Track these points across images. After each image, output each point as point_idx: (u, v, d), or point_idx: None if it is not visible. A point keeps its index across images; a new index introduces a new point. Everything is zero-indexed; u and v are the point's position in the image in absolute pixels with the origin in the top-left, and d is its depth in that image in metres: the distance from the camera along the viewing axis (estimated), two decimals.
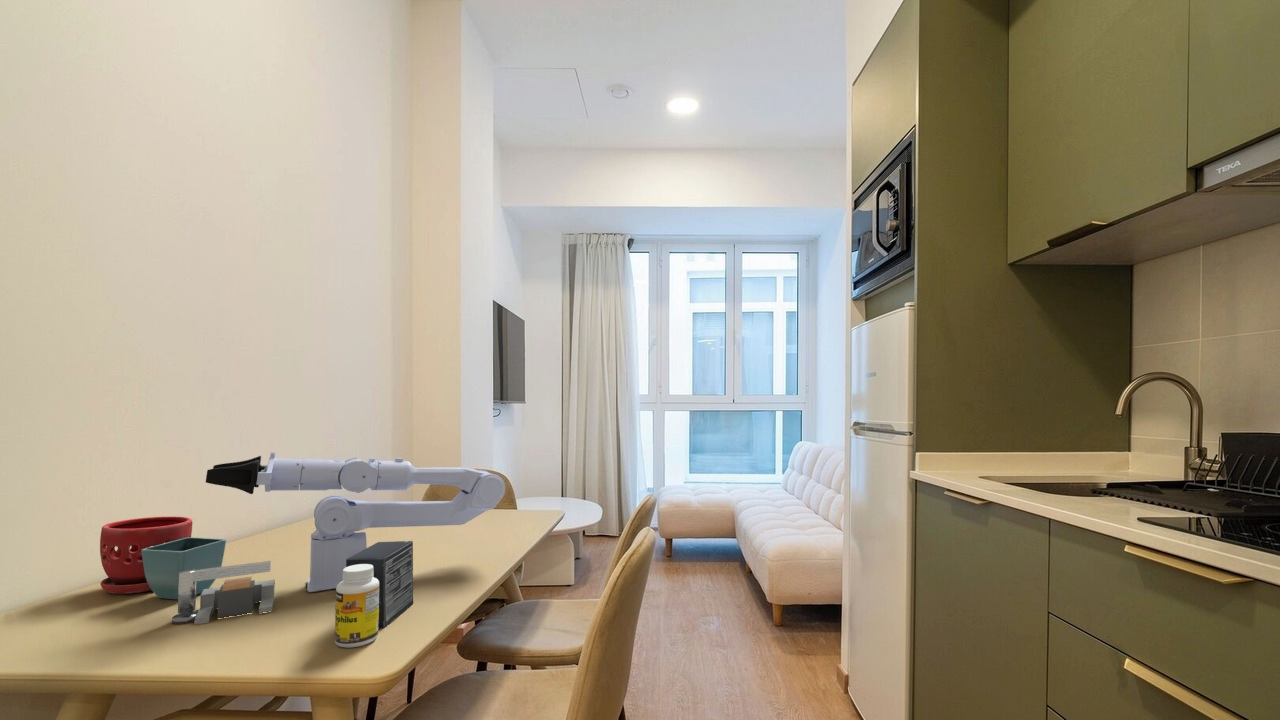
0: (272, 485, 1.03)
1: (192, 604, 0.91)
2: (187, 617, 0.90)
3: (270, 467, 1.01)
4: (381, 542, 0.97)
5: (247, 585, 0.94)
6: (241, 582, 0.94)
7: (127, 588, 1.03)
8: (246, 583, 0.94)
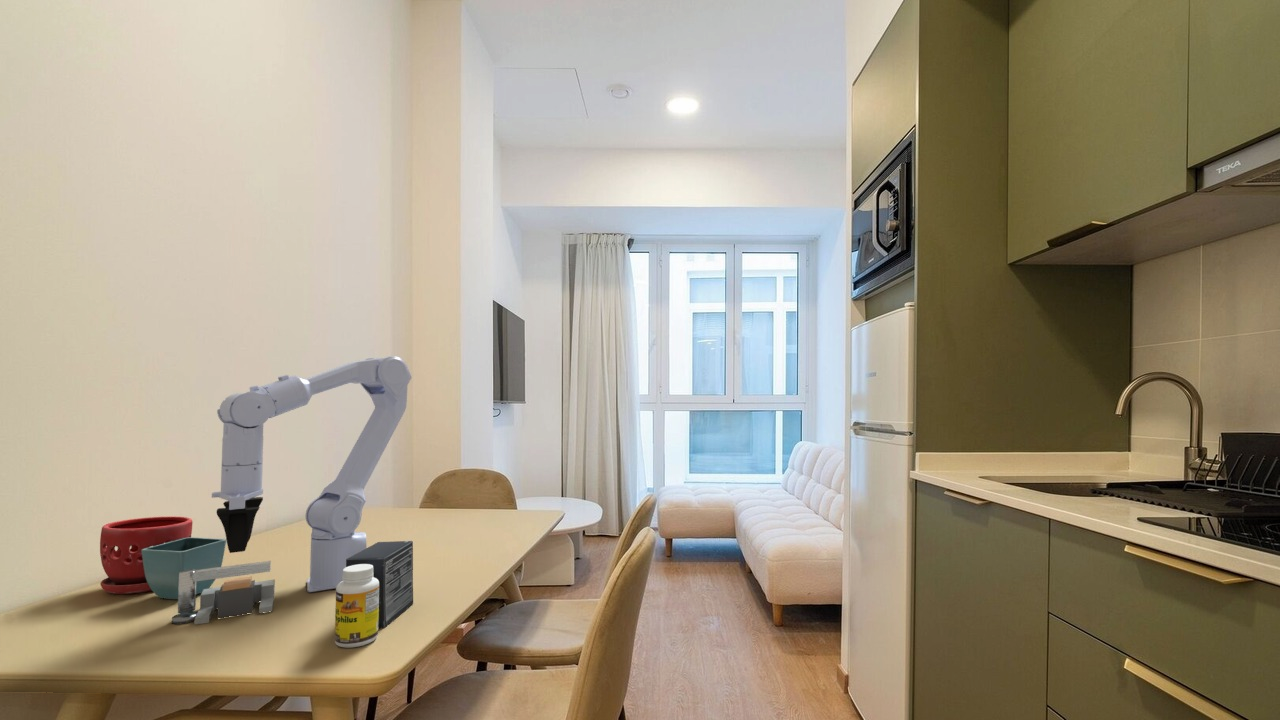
0: (252, 489, 0.97)
1: (192, 604, 0.91)
2: (187, 617, 0.90)
3: (226, 496, 0.93)
4: (381, 542, 0.97)
5: (247, 585, 0.94)
6: (241, 582, 0.94)
7: (127, 588, 1.03)
8: (246, 583, 0.94)
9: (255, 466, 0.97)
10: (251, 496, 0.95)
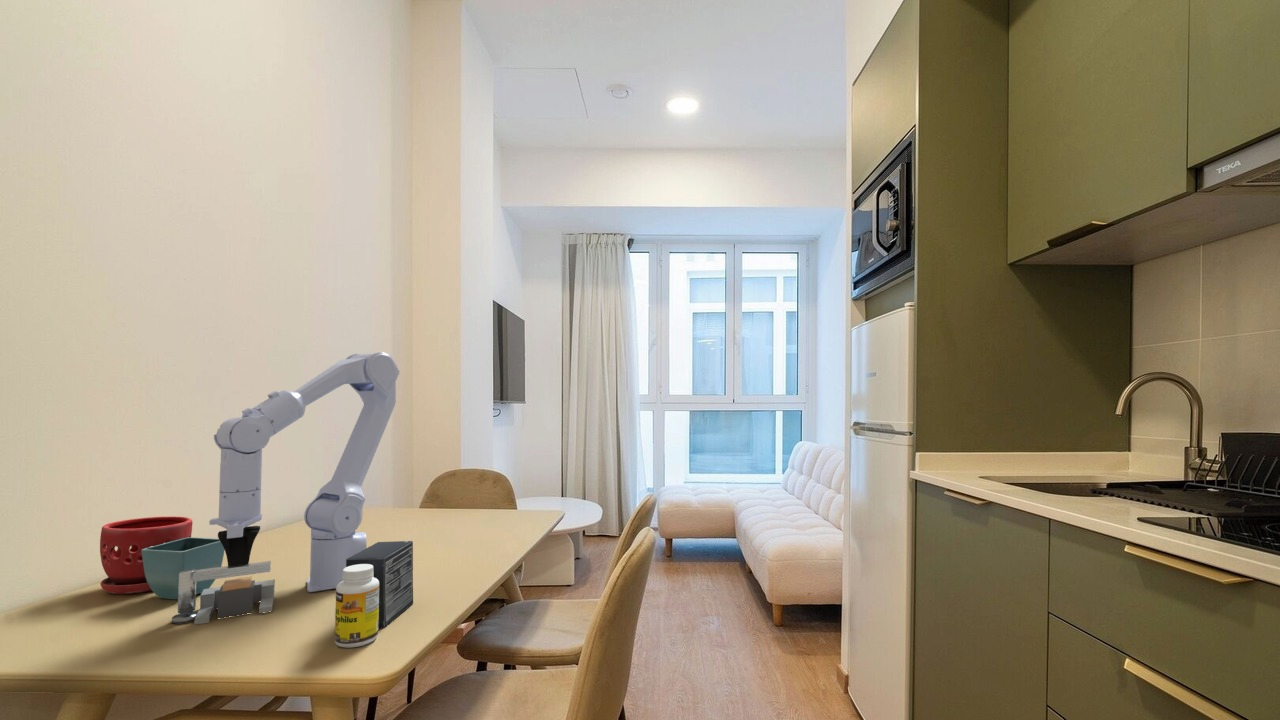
0: (251, 516, 0.95)
1: (192, 604, 0.91)
2: (187, 617, 0.90)
3: (223, 524, 0.92)
4: (381, 542, 0.97)
5: (247, 585, 0.94)
6: (241, 582, 0.94)
7: (127, 588, 1.03)
8: (246, 583, 0.94)
9: (253, 492, 0.96)
10: (249, 523, 0.93)
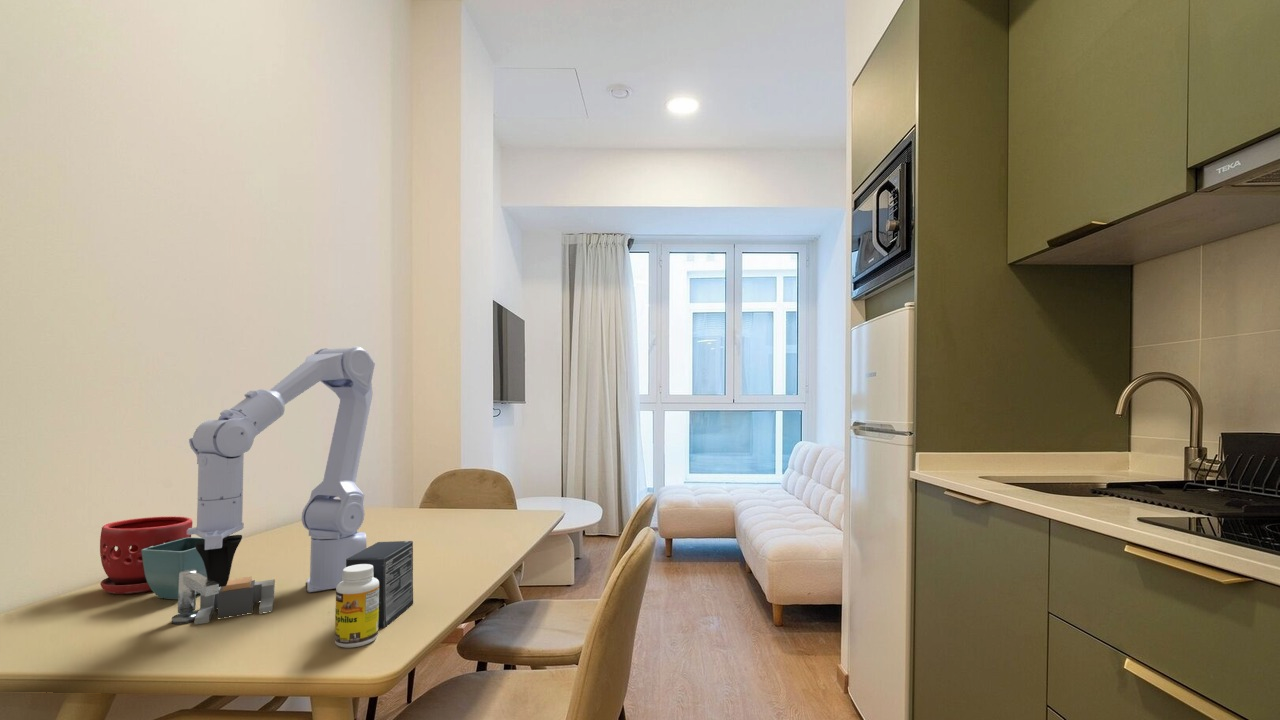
0: (231, 525, 0.89)
1: (182, 606, 0.90)
2: (187, 617, 0.90)
3: (202, 534, 0.86)
4: (381, 542, 0.97)
5: (247, 585, 0.94)
6: (241, 582, 0.94)
7: (127, 588, 1.03)
8: (246, 583, 0.94)
9: (234, 499, 0.90)
10: (229, 533, 0.87)
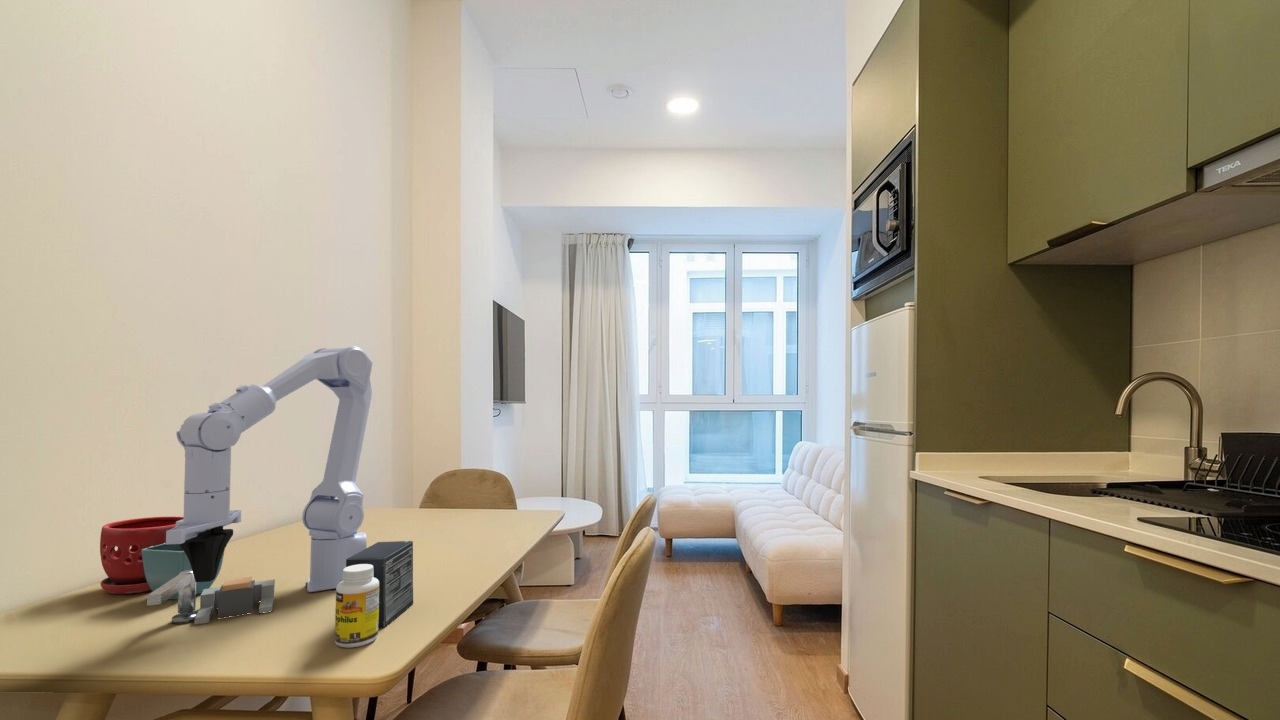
0: (209, 520, 0.88)
1: (179, 606, 0.90)
2: (187, 617, 0.90)
3: None
4: (381, 542, 0.97)
5: (247, 585, 0.94)
6: (241, 582, 0.94)
7: (127, 588, 1.03)
8: (246, 583, 0.94)
9: (212, 494, 0.88)
10: (200, 528, 0.86)
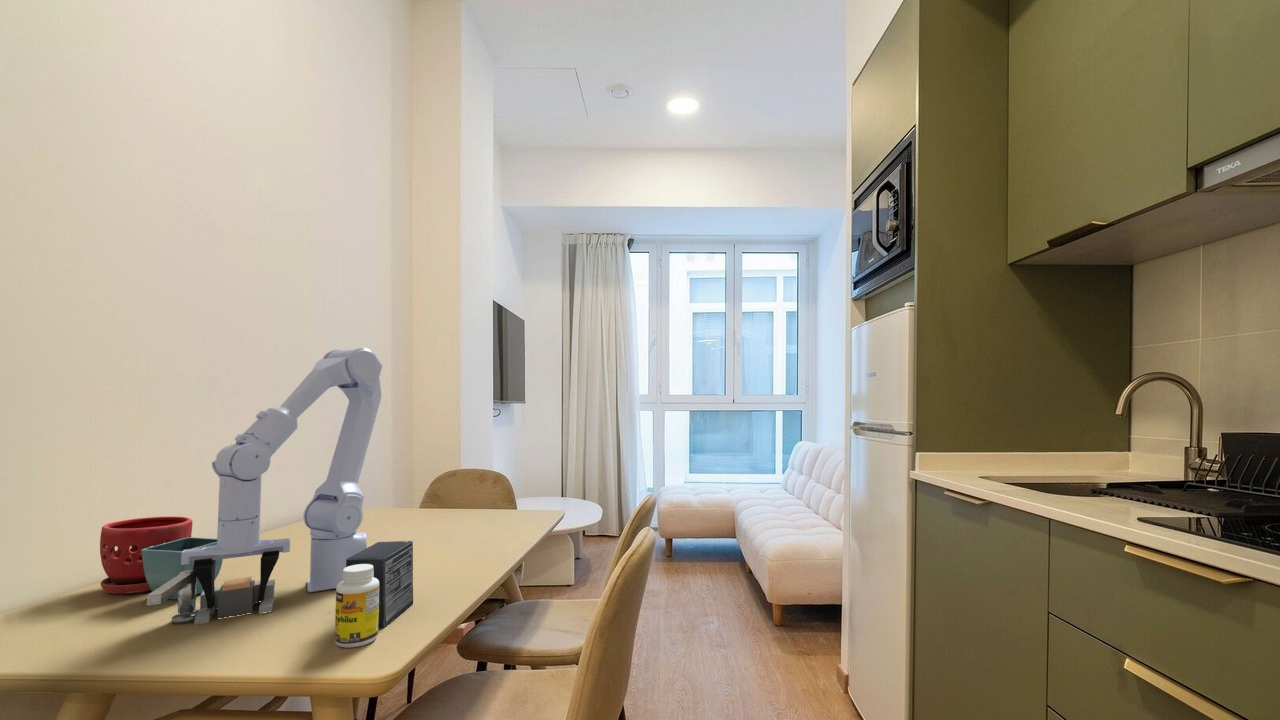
0: (220, 547, 0.93)
1: (179, 606, 0.90)
2: (187, 617, 0.90)
3: (207, 547, 0.95)
4: (381, 542, 0.97)
5: (247, 585, 0.94)
6: (241, 582, 0.94)
7: (127, 588, 1.03)
8: (246, 583, 0.94)
9: (222, 523, 0.93)
10: (204, 554, 0.92)
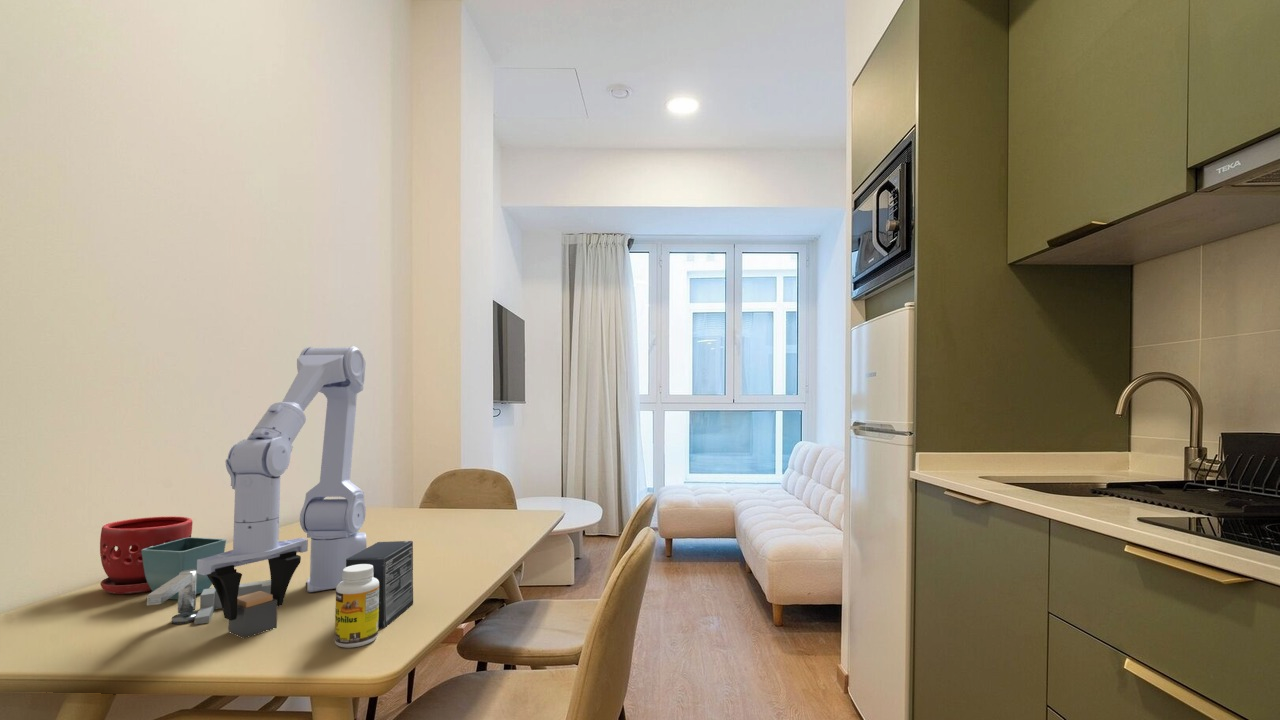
0: (245, 551, 0.85)
1: (179, 606, 0.90)
2: (187, 617, 0.90)
3: (218, 555, 0.85)
4: (381, 542, 0.97)
5: (270, 598, 0.88)
6: (262, 596, 0.87)
7: (127, 588, 1.03)
8: (269, 596, 0.88)
9: (249, 525, 0.85)
10: (230, 560, 0.83)
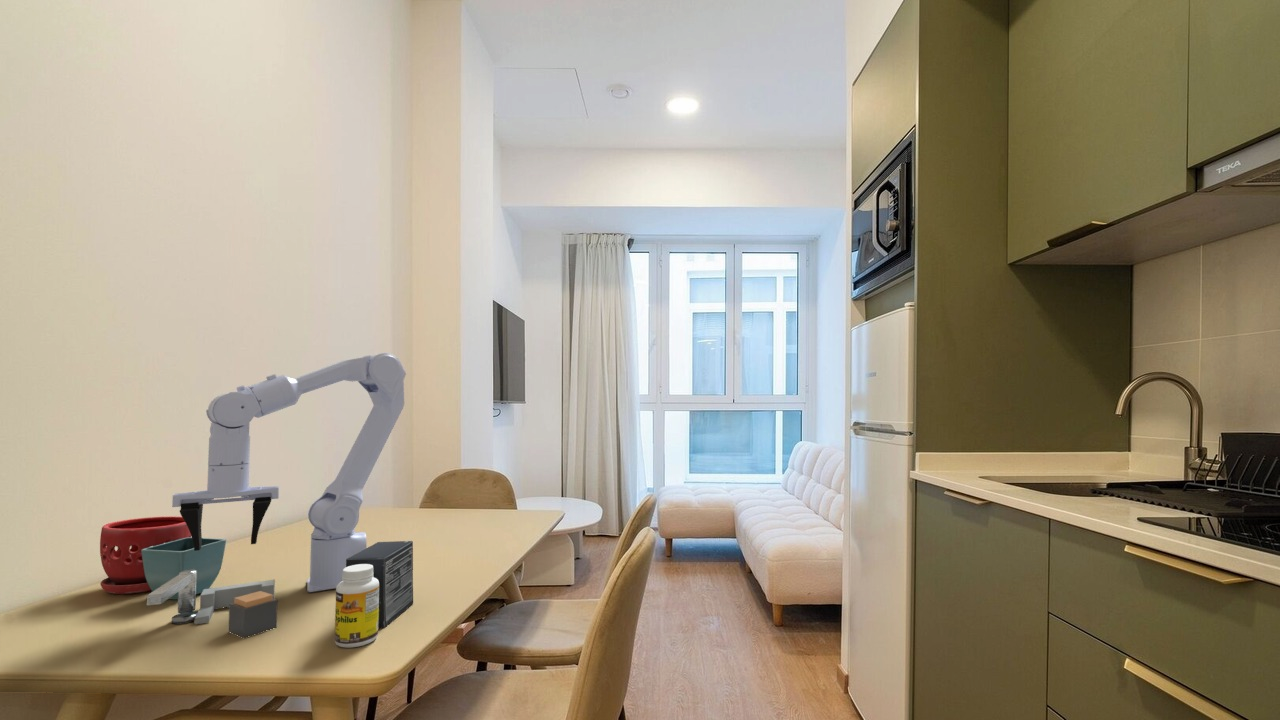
0: (210, 491, 0.96)
1: (179, 606, 0.90)
2: (187, 617, 0.90)
3: (198, 492, 0.98)
4: (381, 542, 0.97)
5: (270, 598, 0.88)
6: (262, 596, 0.87)
7: (127, 588, 1.03)
8: (269, 596, 0.88)
9: (212, 467, 0.96)
10: (194, 497, 0.95)
